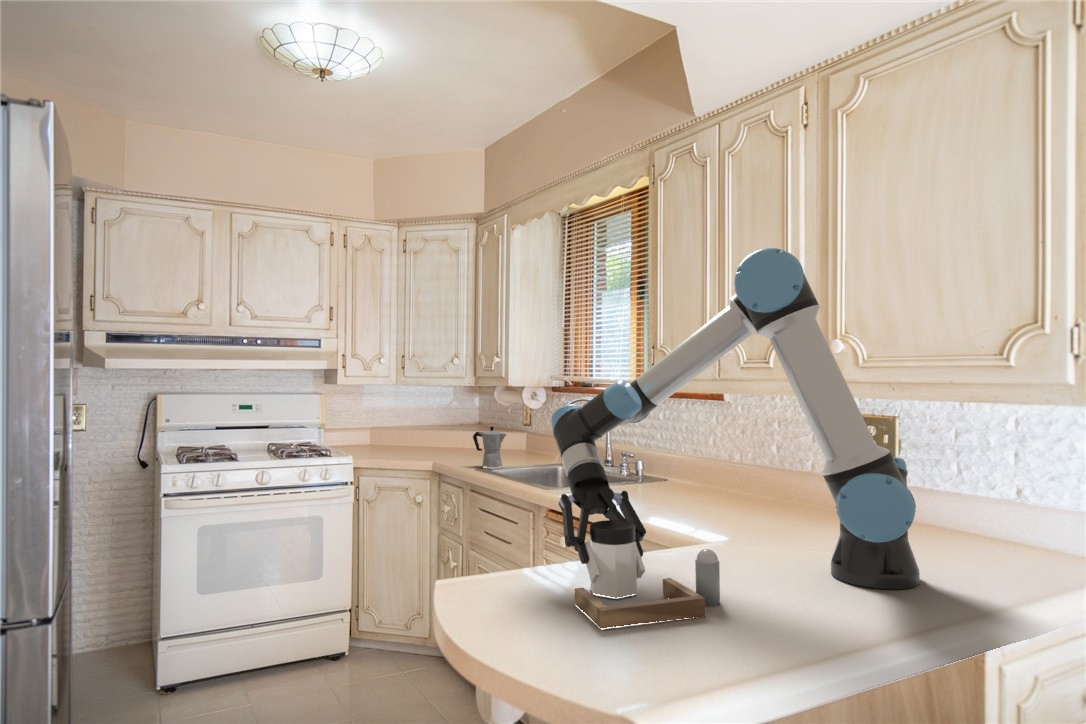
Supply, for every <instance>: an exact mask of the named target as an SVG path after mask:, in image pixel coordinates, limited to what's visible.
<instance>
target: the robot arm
mask: <svg viewBox="0 0 1086 724" xmlns="http://www.w3.org/2000/svg"><path fill="white" fill-rule="evenodd" d="M806 277H807V276H806V274H805V272H804V269H803V267H802V264H801V263H800V260H799V259H798V258H797V257H796V256H794V255H793V254H792V253H790V252H789V251H786V250H784V249H780V248H777V247H776V248H774V247H767V248H762V249H759V250H756V251H753V252H752V253H750V254H749V255H747V256H746V257H744V258H743V260H742V261H741V262H740V264H739V266H737V270H736V272H735V275H734V280H733V281H734V291H735V294H734V295H732V296H731V297H730V300H729V305H727V307H725V308H724V309H723V310H722V311H720V312H719V313H717V314H716V315H715V316H714V317H713V318H711V319H710V320H708V322H706V323H705V324H704V325H702V326H701V327H700V328H699V329H697V330H696V331H695V332H694V333H692V334H691V335H690V336H689V337H688V338H686V339H685V340H683V342H680V344H678V345H677V346H676V347H675V348H673V349H672V350H671V351H669V352H668V353H667V354H666V355H664V356H663V357H662V358H661V359H660V360H658V361H657V362H656V363H654V364H653V365H652V366H651V367H649V368H648V369H647V370H645V372H643V373H642V374H640V375H639V376H638V377H637V378H635V379H634V380H633V381H631V382H630V383H628V382H627V381H626V380H622V379H620V380H617V381H615V382H614V383H612V384H611V385H608V386H607V387H605V389H604V390H603V391H601V392H600V393H598V394H597V395H596V396H594V397H593V398H591V399H590V400H589V401H588V402H586V403H584V405H582V406H580V405H578V404H574V403H573V404H567V405H565V406H560V407H558V408H557V409H556V410H555V411H554V412H553V414H552V416H551V419H550V421H551V423H550V424H551V427H552V435H553V437H554V440H555V441H556V444H557V448H558V451H559V455H560V458H561V462H562V465H563V468H564V472H565V475H566V477H567V482H568V486H569V489H570V493H571V494H570V495H567V494H566V493H562V494H561V497H560V499H559V501H558V506H559V508H560V511H561V512H562V513H561V514H562V525H563V536H564V545H565V546H566V547H568V548H569V547H570V548H571V547H573V549H574V551H575V552H577V555H578V558H579V560H580V563H581V564H582V565H586V569H587V572H588V575H589V579H590V584H591V583H596V581H597V579H598V577H599V575H600V574H599V571H598V567H597V564H596V561H595V557H594V554H593V551H592V547H591V544H590V541H586V537H587V530H588V523H589V519H590V516H592V515H603V516H604V518H606V519H608V520H617V521H626V522H630V523H633V524H634V525H635V537H636V539H635V542H636V561H637V579H641V578H642V577H643V575H644V574H645V572H646V568H645V565H644V561H643V560H642V557H643V556H644V550H643V548H642V545H641V541H642V540H643V539H644V537H645V535H646V534H647V531H646V528H645V527H644V524H643V523H642V522H641V519H640V518H639V516H638V514H637V512H636V511H635V509H634V507H633V505H632V503H631V501H630V499H629V493H628V491H627V490H622V491H621V492H614V490H613V489H612V488H611V487H610V485H609V480H608V476H607V473H606V471H605V468H604V465H603V462H602V459H601V457H600V453H599V451H598V449H597V448H598V447H597V445H596V441H598V440H599V439H600V438H602V437H604V436H605V435H606V434H608V433H610V432H611V431H613V430H615V428H617V427H619V426H624V425H625V426H626V425H627V424H628V425H629V424H637V423H640V422H642V421H643V420H645V419H646V418H647V417H648V416H649V415H650V413H651V412H652V411H653V410H655V409H656V408H657V407H658V406H659V405H661V404H662V403H664V402H665V400H667V399H668V398H670V397H671V396H672V395H674V394H675V393H676V392H678V391H679V390H681V389H682V388H683V387H685V386H686V385H687V384H689V383H690V382H691V381H693V379H695V378H697V377H698V376H699V375H700V374H702V373H703V372H704V371H706V370H707V369H708V368H710V367H711V366H712V365H713V364H715V363H716V362H718V361H719V360H720V359H721V358H723V357H724V356H725V355H727V354H729V353H730V352H731V351H732V350H733V349H734V348H736V347H737V346H739V345H740V344H741V343H742V342H744V341H745V340H747V339H748V338H749V337H751V336H752V335H760V336H763V337H765V338H767V339H769V341H770V343H771V345H772V347H773V350H774V351H775V354H776V356H777V358H778V361H779V363H780V364H781V367H782V368H783V371H784V372H785V376H786V377H787V379H788V381H789V384H790V387H791V388H792V390H793V392H794V394H795V397H796V399H797V401H798V403H799V405H800V409H801V410H802V411H803V414H804V416H805V418H806V420H807V422H808V425H809V428H810V429H811V431H812V433H813V435H814V438H815V441H816V443H817V444H818V446H819V449H820V450H821V453H822V456H823V458H824V459H825V464H824V467H823V469H822V473H821V474H822V476H823V478H824V481H825V483H826V486H827V488H828V490H829V492H830V495H831V497H832V499H833V500H834V502H835V509H836V515H837V516H838V519H839V536H838V539H837V543H836V546H835V548H834V551H833V554H832V558H831V560H830V574H831V575H832V577H834V578H835V579H837V580H839V581H841V582H844V583H848V584H851V585H856V586H861V587H863V588H864V587H865V588H871V589H872V588H873V589H880V590H882V589H883V590H905V589H912V588H916V587H917V586H919V585H920V581H921V580H920V578H921V577H920V568H919V565H918V563H917V561H916V558H915V555H914V552H913V549H912V547H911V545H910V541H909V531H908V530H909V529H910V528H911V526H912V524H913V521H914V520H915V516H916V506H917V505H916V501H915V498H914V496H913V494H912V491H911V490H910V489H909V488H908V484H907V483H908V482H907V480H908V479H907V478H908V473H909V472H908V469H907V464H906V461H905V460H904V459H903V458H901V457H897V456H895V457H893V455H892V453H891V451H890V450H889V449H888V448H885V447H883V446H881V445H879V444H877V443H876V442H875V439H874V437H873V436H872V434H871V432H870V429H869V427H868V424H867V423H866V421H865V419H864V417H863V415H862V411H861V410H860V408H859V407H858V404H857V402H856V400H855V398H854V396H853V393H852V391H851V389H850V388H849V386H848V384H847V382H846V379H845V377H844V375H843V372H841V369H840V366H839V365H838V362H837V361H836V359H835V357H834V354H833V352H832V351H831V348H830V345H829V344H828V341H827V340H826V337H825V335H824V334H823V330H822V329H821V327H820V325H819V322H818V321H817V316H818V313H819V310H820V306H821V305H820V304H819V302H818V300H817V298H816V296H815V294H814V292H813V290H812V287H811V285H810V283H809V281H808V279H807V278H806ZM613 500H614V501H613ZM614 502H615V503H616V504H615V503H614ZM573 504H574V505H576V507H578V508H579V509H580V513H579V522H578V526H577V527H578V529H577V533H576V535H575V526H574V518H573V515H574V514H573V509H572V508H573V507H572V505H573ZM617 506H619V510H620V511H621V512H620V511H619V510H618V508H617Z"/></svg>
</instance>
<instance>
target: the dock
mask: <svg viewBox="0 0 1086 724" xmlns="http://www.w3.org/2000/svg"><path fill="white" fill-rule="evenodd" d="M663 595H664V596H666V597H667V598H669V599H667V598H665V599H659V600H649V601H642V602H641V601H640V602H633V603H624V604H623V603H622V604H618V605H617V604H616V605H610V606H608V605H607V606H606V605H605V604H604V603H603V602H602V601H601V600H599V599H598V598H596V596H593V595H592V594H591V593H590V592H589V591H588V590H587V589H585V587H577V588H574V605H575V604H576V605H577V606H578V607H579V608H580V609H581V610H583V612H585V613H586V614H587V615H588V616H589V617H590V618H591V619H592V620H593V621H594V622H595V623H596V624H597V625H598V626H599V627H600V628H607V627H613V626H614V627H616V626H624V625H631V624H638V623H649V622H656V621H657V622H659V621H667V620H676V619H684V618H693V617H694V619H697V618H696V617H701V618H705V617H706V606H705V598H704V597H702V596H701V595H699V594H697V593H696V591H694V590H692V589H691V588H688V587H687V586H685V585H683V584H682V583H679V582H678V581H677V580H675V579H673V578H671V577H667V578H662V596H663ZM664 596H663V597H664Z"/></svg>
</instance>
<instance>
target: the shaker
mask: <svg viewBox="0 0 1086 724" xmlns="http://www.w3.org/2000/svg"><path fill="white" fill-rule="evenodd" d="M694 561H695V565H694V566H695V567H694V568H695V569H694V571H695V592H696V593H697V594H699V595H701V596H702V597H704V598H705V607H717V606H719V605H721V583H720V582H721V581H720V580H721V578H720V569H721V568H720V560H719V557H718V555H717V554H716V552H715V551H714V550H712V549H709V548H704V549H702V550H700V551H698V553H697V555H696V559H695V560H694Z"/></svg>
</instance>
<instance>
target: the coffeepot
mask: <svg viewBox="0 0 1086 724" xmlns="http://www.w3.org/2000/svg"><path fill="white" fill-rule="evenodd" d="M494 429H495V427H494V426H490V430H488V431H486V432H484V431H476V432H475V433H474V434H473V435H472V439H473V441H474V445H475V448H476V451H480V452H482V451H483V449H484V453H483V459H482V465H483V466H487V467H499V466H502V467H503V463H502V456H501V445H502V443H503V441H504V439H505V437H506V436H507V433H503V432H499V431H495V430H494ZM478 437H480V438H481V437H482V444H483V448H480V443H479V440H478Z"/></svg>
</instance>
